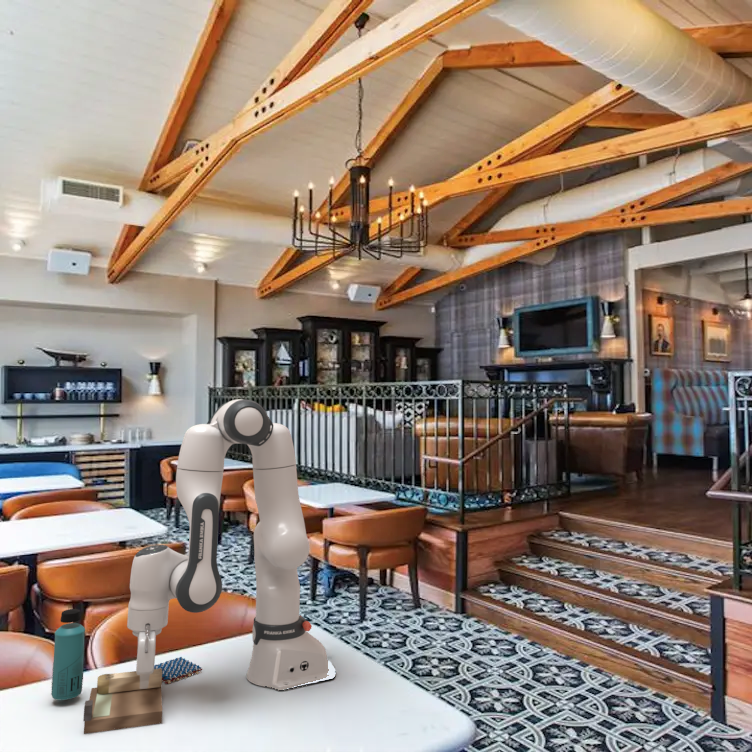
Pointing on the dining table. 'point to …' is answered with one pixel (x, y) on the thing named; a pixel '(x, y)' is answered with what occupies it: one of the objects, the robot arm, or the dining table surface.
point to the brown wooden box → (122, 709)
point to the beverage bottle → (68, 657)
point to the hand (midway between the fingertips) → (144, 679)
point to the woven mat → (177, 669)
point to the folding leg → (126, 681)
